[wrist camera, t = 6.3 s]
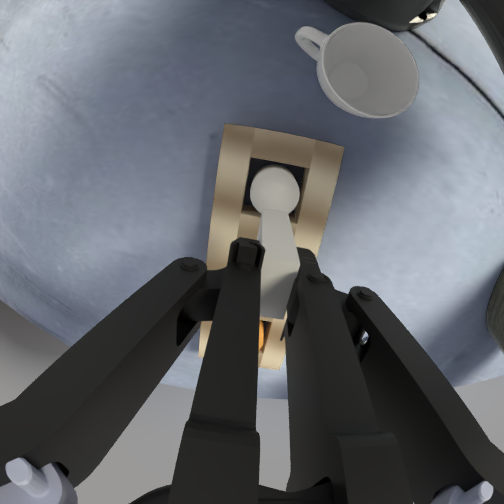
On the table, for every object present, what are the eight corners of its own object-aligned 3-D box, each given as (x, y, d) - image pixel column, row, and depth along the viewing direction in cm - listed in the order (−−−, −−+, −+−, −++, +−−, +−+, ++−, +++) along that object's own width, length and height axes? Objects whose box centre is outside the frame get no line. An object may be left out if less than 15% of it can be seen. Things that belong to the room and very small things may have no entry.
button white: (256, 160, 25) (254, 165, 21) (299, 168, 25) (304, 175, 22) (249, 201, 26) (246, 212, 23) (290, 209, 26) (293, 221, 23)
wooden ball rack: (229, 123, 24) (224, 123, 21) (336, 144, 24) (344, 147, 21) (203, 340, 35) (198, 357, 32) (279, 353, 35) (279, 369, 32)
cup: (361, 135, 23) (390, 139, 17) (270, 76, 22) (272, 59, 16) (398, 77, 20) (433, 67, 14) (312, 18, 19) (325, -11, 13)
